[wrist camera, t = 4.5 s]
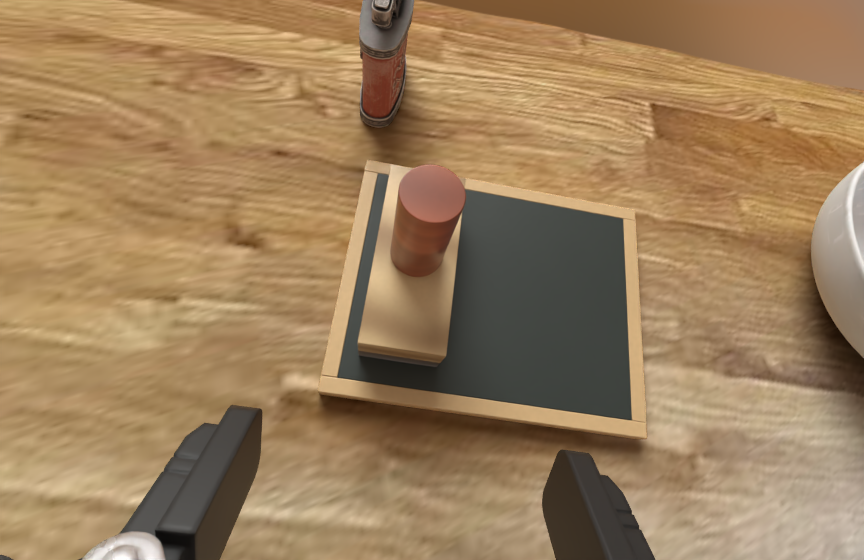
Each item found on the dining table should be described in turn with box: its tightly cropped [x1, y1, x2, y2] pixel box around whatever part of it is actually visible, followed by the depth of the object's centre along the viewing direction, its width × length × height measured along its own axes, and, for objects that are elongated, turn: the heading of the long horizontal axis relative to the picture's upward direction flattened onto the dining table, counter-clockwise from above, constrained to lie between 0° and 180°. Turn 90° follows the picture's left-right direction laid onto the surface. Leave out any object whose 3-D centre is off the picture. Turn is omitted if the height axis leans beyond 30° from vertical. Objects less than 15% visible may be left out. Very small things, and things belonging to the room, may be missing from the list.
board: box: [318, 160, 647, 439], centre depth 32 cm, size 21×17×1 cm
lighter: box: [359, 0, 414, 128], centre depth 33 cm, size 8×3×10 cm, turn 171°
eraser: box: [358, 164, 466, 367], centre depth 26 cm, size 12×5×10 cm, turn 173°
